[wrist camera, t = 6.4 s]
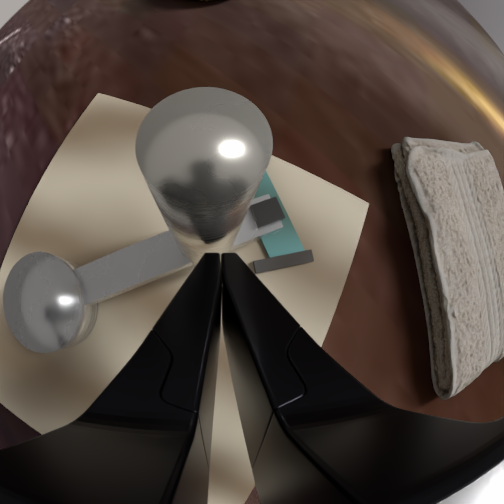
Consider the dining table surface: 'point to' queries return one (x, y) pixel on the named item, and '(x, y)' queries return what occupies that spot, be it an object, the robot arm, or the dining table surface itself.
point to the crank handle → (172, 210)
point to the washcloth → (455, 253)
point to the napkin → (164, 289)
